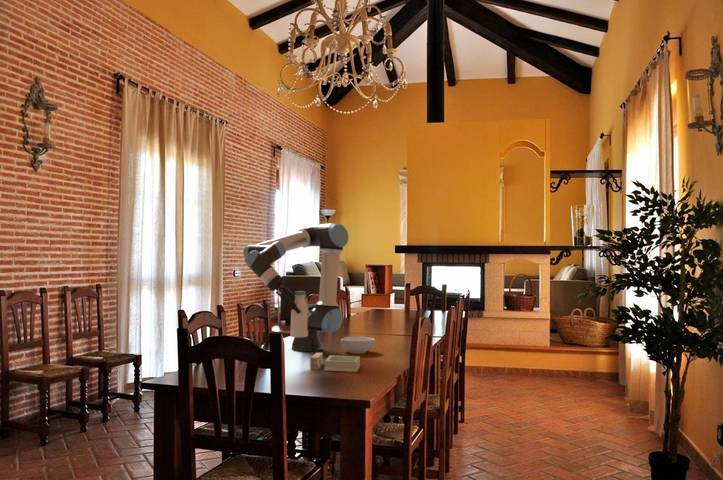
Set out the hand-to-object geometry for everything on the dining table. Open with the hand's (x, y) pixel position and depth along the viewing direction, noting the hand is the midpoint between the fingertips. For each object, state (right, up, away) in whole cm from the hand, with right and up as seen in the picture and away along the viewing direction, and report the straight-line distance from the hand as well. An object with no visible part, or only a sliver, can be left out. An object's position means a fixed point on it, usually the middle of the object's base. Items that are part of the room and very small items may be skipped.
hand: (307, 317), depth 264 cm
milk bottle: (-4, -9, 0) cm, 9 cm away
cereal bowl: (+22, -23, +37) cm, 48 cm away
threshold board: (+4, -21, -2) cm, 22 cm away
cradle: (+16, -22, -3) cm, 27 cm away
